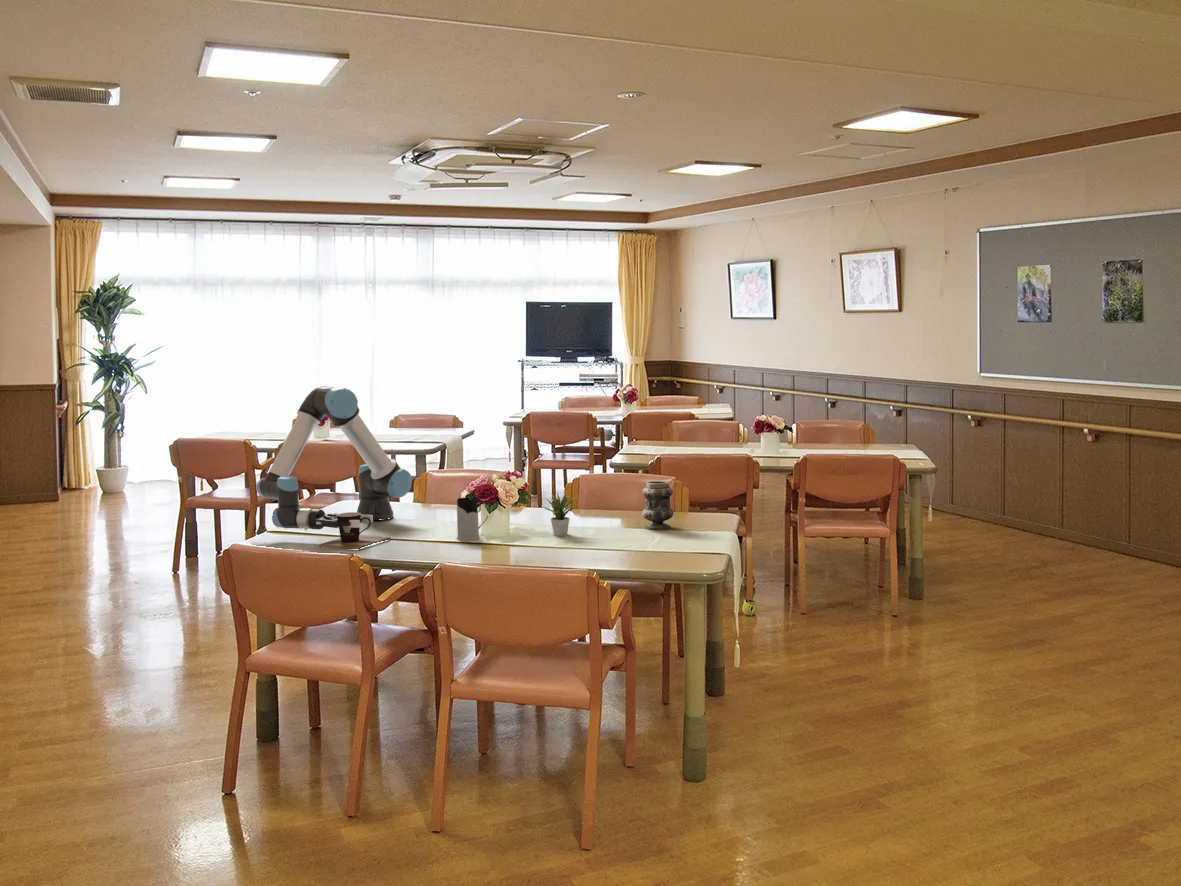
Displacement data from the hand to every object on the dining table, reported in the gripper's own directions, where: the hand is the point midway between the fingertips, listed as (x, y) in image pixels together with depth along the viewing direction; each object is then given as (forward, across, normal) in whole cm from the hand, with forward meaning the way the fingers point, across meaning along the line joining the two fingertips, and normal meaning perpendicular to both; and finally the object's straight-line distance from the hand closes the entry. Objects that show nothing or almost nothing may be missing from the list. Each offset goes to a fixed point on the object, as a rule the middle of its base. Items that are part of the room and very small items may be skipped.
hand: (365, 521), depth 408 cm
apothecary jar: (+98, -52, -9) cm, 111 cm away
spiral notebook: (-4, 0, -8) cm, 10 cm away
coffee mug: (-4, +2, -8) cm, 9 cm away
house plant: (+65, -31, -9) cm, 73 cm away
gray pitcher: (+35, -20, -9) cm, 41 cm away
